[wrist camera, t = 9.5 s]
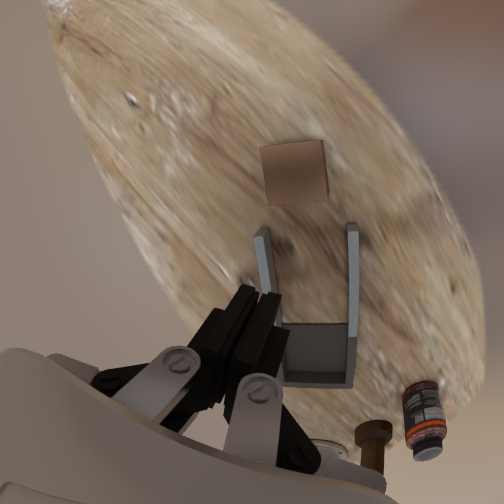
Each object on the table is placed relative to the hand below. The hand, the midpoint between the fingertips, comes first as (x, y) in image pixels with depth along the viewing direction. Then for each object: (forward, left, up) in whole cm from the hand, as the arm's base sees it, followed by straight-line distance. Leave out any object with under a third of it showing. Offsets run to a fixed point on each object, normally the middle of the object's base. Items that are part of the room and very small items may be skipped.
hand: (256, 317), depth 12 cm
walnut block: (+4, 0, -18) cm, 19 cm away
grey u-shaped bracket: (-12, 0, -18) cm, 21 cm away
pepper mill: (-38, -10, -18) cm, 43 cm away
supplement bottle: (-28, -16, -18) cm, 37 cm away
